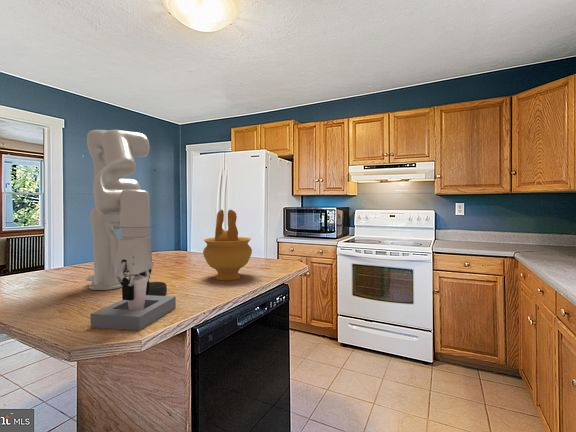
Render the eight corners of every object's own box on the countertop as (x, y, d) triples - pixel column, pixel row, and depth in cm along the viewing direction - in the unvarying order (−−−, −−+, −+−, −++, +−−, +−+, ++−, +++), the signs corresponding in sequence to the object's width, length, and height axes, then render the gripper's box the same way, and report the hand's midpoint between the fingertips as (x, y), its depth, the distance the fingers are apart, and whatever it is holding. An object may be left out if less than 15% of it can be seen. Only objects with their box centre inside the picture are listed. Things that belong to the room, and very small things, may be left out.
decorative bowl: (258, 273, 147) (258, 209, 146) (241, 284, 126) (241, 209, 125) (216, 271, 151) (216, 209, 150) (194, 281, 131) (193, 209, 130)
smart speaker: (164, 290, 118) (164, 280, 118) (168, 296, 110) (168, 285, 110) (138, 294, 113) (137, 283, 113) (141, 300, 106) (140, 288, 106)
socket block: (90, 327, 82) (90, 313, 82) (134, 305, 100) (134, 294, 100) (139, 330, 80) (139, 316, 80) (175, 307, 98) (175, 296, 98)
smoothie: (129, 308, 93) (128, 261, 92) (152, 307, 93) (151, 260, 93) (119, 316, 86) (118, 265, 86) (144, 315, 87) (143, 264, 86)
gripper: (141, 230, 98) (142, 287, 99) (100, 236, 81) (102, 305, 82) (164, 231, 97) (164, 288, 98) (127, 236, 80) (128, 306, 81)
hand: (136, 295), depth 90 cm, fingers closed on smoothie, 6 cm apart
